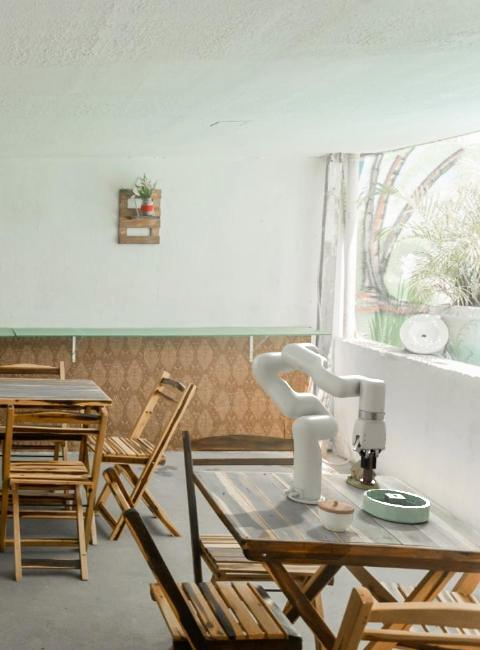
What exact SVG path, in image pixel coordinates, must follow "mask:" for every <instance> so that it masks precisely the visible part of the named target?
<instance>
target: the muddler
mask: <svg viewBox="0 0 480 650" xmlns="http://www.w3.org/2000/svg"><path fill="white" fill-rule="evenodd" d="M368 458H370V468H369V470H366V469H364V470H363V479H361V480H360V483H361V484H363V485H367V486H374V485H375V482H374V481H372V476H373V470H374V469H373V459H374V453H372V452H369V457H368Z"/></svg>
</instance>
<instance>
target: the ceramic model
mask: <svg viewBox="0 0 480 650" xmlns="http://www.w3.org/2000/svg"><path fill="white" fill-rule="evenodd" d="M360 466H361V459H359V460H358V461H357V462H355V463H354V464H352V465H351V467H350V468H349V471H350V475H348V476H347V480H346V482H347V483H348V484H349V485H352V486H354V487H356V488H359V489H363V490H371V489H380V488H379V487H380V486H379V485H380V484H379V483H378V482H377V479H375V478H376V477H377V476H378V475H377V473H376V471H375V469H373V476H372V481H374V482H375V485H374V486H367V485H363V484H361V483H360V480H361V479H363V470H364V468H361V467H360Z"/></svg>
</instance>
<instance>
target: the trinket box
mask: <svg viewBox="0 0 480 650" xmlns="http://www.w3.org/2000/svg"><path fill="white" fill-rule="evenodd" d="M354 513H355V508H354V506H353V505H351V504H350V503H346V502H343V501H338V500H337V499H334V500H331V499H327V500H326V499H325V500H323V501H319V502H318V504H317V516H318V519H319V521H320V522H321V524H322V525H323V526H324V528H325V529H327V530H328V531H331V532H339V533H341V532H345V531H346V530H347V529H349V528H350V526H351V525H352V524H353V521H354Z"/></svg>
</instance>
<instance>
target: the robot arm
mask: <svg viewBox="0 0 480 650" xmlns="http://www.w3.org/2000/svg"><path fill="white" fill-rule="evenodd" d="M251 368H252V369H251V370H252V375H253V378H254V380H255V381H256V382H257V384H258V385H259V386H260V388H261V389H263V391H264V392H265V393H266V394H267V395H268V397H269V399H270V400H271V401H272V402H273V403H274V405H275V406H276V407H277V409H278V410H279V411H280V412H281V414H282V415H283V416H284V417H285V418H287V419H295V420H294V421H293V422H292V424H291V425H292V426H291V435H292V440H293V466H292V467H293V472H292V485H290V488H288V489H282V490H281V494H282V495H284V496H286V495H287V497H288V499H290V500H292V501H294V502H297V503H301V504H307V505H318V502H319V501H323V500H326V497H325V496H324V495H322V476H323V474H322V473H323V452H322V448H321V446H320V443H319V442H320V441H326V440H331V439H334V438H335V437H337V435H338V434H339V425H338V422H337V420H336V418H335V416H333V414H332V413H331V412H330V410H328V408H327V407H326V406H325V404H324V403H323V402H322V401H321V400H320V398H318V396H316V395H315V394H313V393H310V392H304V391H303V392H297V391H295V390H294V389H292V387H291V386H290V385H289V383H288V382H287V381H286V380H284V379H283V378H282V377H280V376H278V374H287V373H291V372H292V373H293V372H295V371H300V372H302V373H303V374H305V375H306V376H308V377H311V380H312V382H313V383H314V385H315V386H316V387H317V388H318V389H320V391H323V392H325V393H326V394H328V395H330V396H332V397H335V398H338V399H345V398H347V399H348V398H356V397H357V398H358V397H359V399H358V415H357V416H358V417H357V418H356V419H355V421H354V425H353V426H354V427H353V429H352V430H353V432H352V439H351V445H352V446H353V448H352V451H354V452H356V453H358V454H359V457H360V460H361V466H360V467H361V468H364V469H366V470H369V468H370V458H368V457H369V452H372V453H374V459H373V470H376V469H377V463H378V462H377V459H378V458H379V455H380V454H381V453H382V452H383V451H385V450H386V444H387V426H386V420H385V415H386V412H385V408H386V407H385V406H386V391H387V387H386V386H387V385H386V382H385V381H384V380H381V379H376V378H368V377H366V376H363V375H360V374H359V375H358V374H353V375H350V374H349V375H337V374H335V373H333V372H332V371H330V370H328V368H329V361H328V360H327V358H325V357H324V356H322V355H320V350H319V348H318V347H317V346H316V345H314V343H311V342H293V343H288V344H287V345H285V346H284V347H283V348H282V349H281V351H269V352H263V353H260V354H258V355H256V356H255V357H254V359H253V361H252V364H251Z"/></svg>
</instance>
